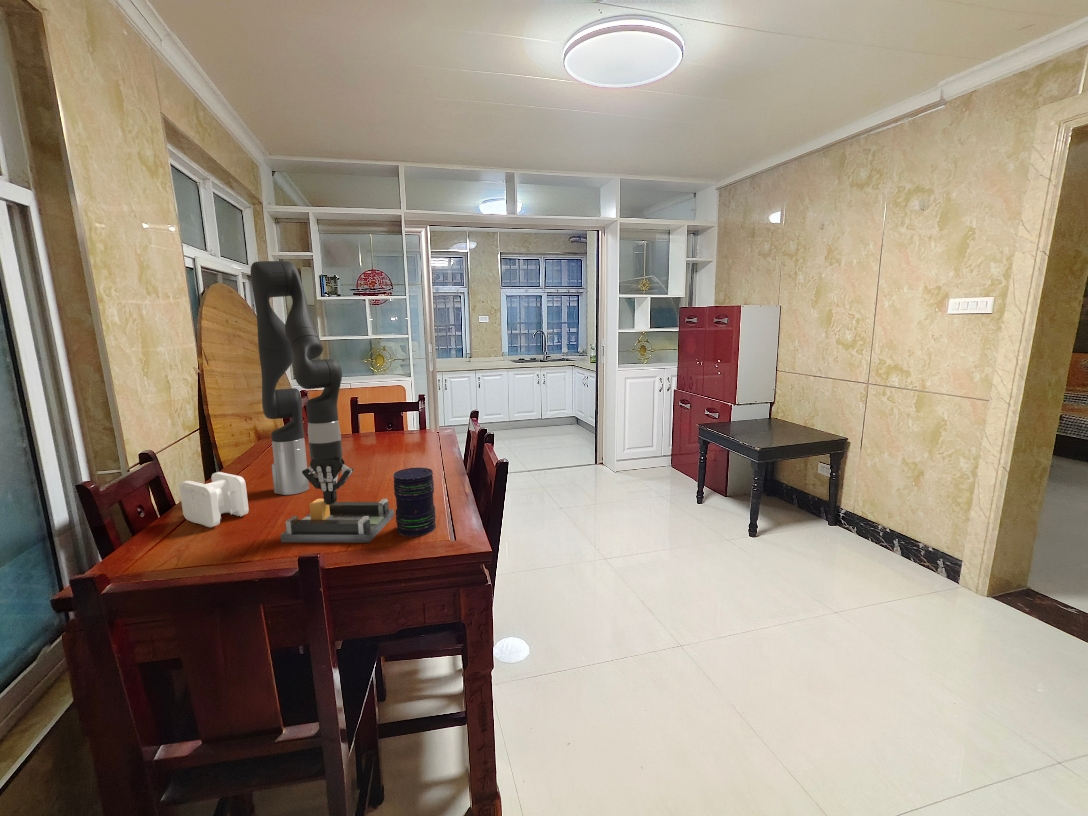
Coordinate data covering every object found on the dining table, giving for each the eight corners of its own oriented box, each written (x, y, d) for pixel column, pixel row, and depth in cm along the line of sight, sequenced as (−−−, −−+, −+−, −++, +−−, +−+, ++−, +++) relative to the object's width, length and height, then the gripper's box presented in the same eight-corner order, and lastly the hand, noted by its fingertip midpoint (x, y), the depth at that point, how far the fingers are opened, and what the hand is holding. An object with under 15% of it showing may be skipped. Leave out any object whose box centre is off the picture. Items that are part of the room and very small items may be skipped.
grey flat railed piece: (281, 542, 118) (278, 522, 117) (316, 515, 135) (315, 498, 134) (369, 542, 117) (367, 522, 116) (394, 515, 134) (392, 498, 133)
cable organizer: (252, 517, 135) (247, 477, 133) (212, 531, 126) (206, 488, 124) (221, 508, 142) (216, 470, 140) (181, 521, 133) (175, 481, 131)
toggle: (308, 523, 124) (306, 504, 123) (317, 517, 128) (315, 498, 127) (325, 523, 123) (323, 504, 123) (333, 517, 128) (331, 498, 127)
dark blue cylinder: (399, 539, 118) (395, 480, 116) (394, 525, 127) (390, 470, 125) (439, 532, 122) (436, 475, 120) (432, 518, 131) (429, 465, 129)
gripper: (291, 442, 119) (298, 509, 122) (343, 442, 118) (349, 509, 121) (307, 435, 126) (313, 498, 129) (356, 435, 126) (362, 498, 128)
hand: (331, 503), depth 125 cm, fingers closed
